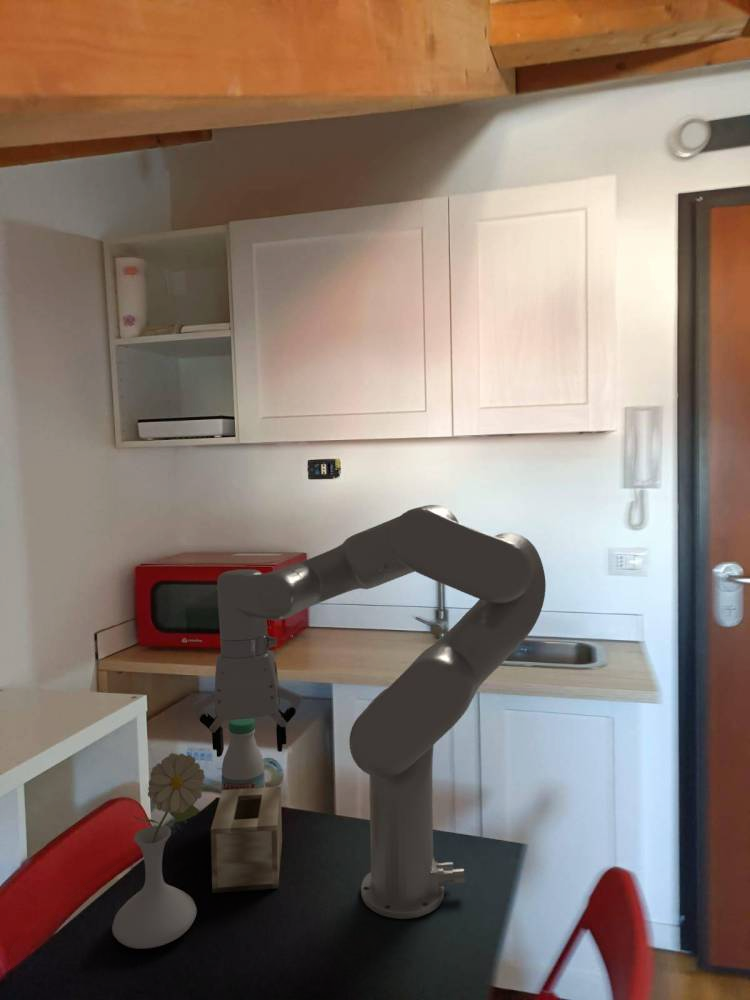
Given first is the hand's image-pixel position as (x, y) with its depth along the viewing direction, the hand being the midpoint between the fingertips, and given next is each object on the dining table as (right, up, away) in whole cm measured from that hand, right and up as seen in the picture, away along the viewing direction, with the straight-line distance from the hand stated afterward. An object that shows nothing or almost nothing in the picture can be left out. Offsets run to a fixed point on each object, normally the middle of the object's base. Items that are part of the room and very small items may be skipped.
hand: (250, 751), depth 111 cm
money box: (0, -19, +1) cm, 19 cm away
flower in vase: (-10, -20, -14) cm, 27 cm away
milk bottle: (-3, -19, +13) cm, 23 cm away
